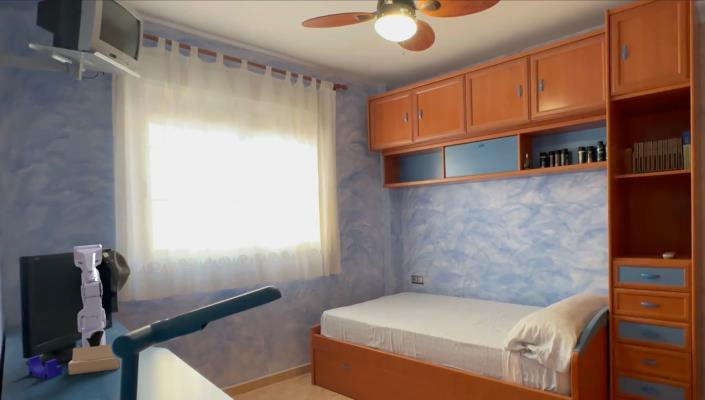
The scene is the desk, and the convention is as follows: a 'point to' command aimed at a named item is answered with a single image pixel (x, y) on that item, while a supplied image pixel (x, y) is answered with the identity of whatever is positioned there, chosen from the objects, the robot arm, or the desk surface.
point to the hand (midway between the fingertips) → (95, 352)
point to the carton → (93, 365)
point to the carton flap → (92, 352)
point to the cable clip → (40, 371)
